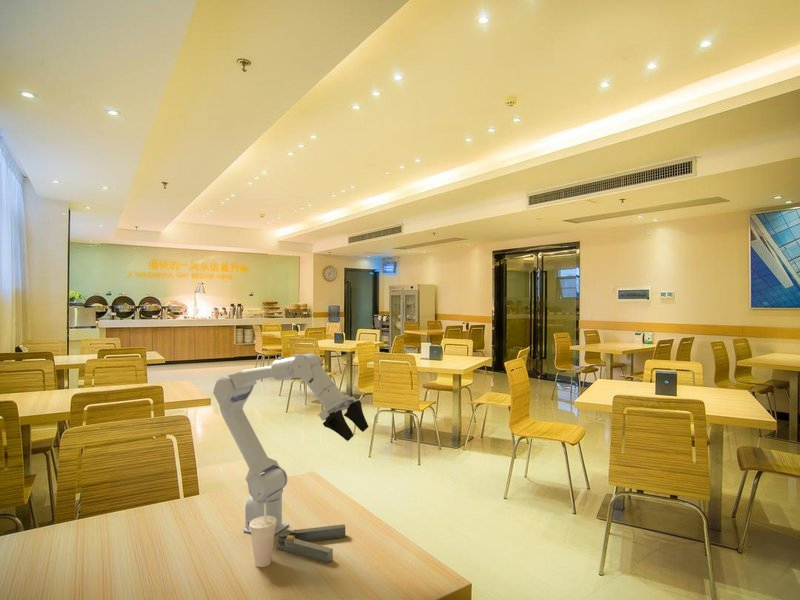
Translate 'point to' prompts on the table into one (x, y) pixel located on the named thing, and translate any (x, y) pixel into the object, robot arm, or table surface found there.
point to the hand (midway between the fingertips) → (358, 433)
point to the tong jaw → (316, 533)
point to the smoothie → (263, 538)
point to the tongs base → (305, 549)
